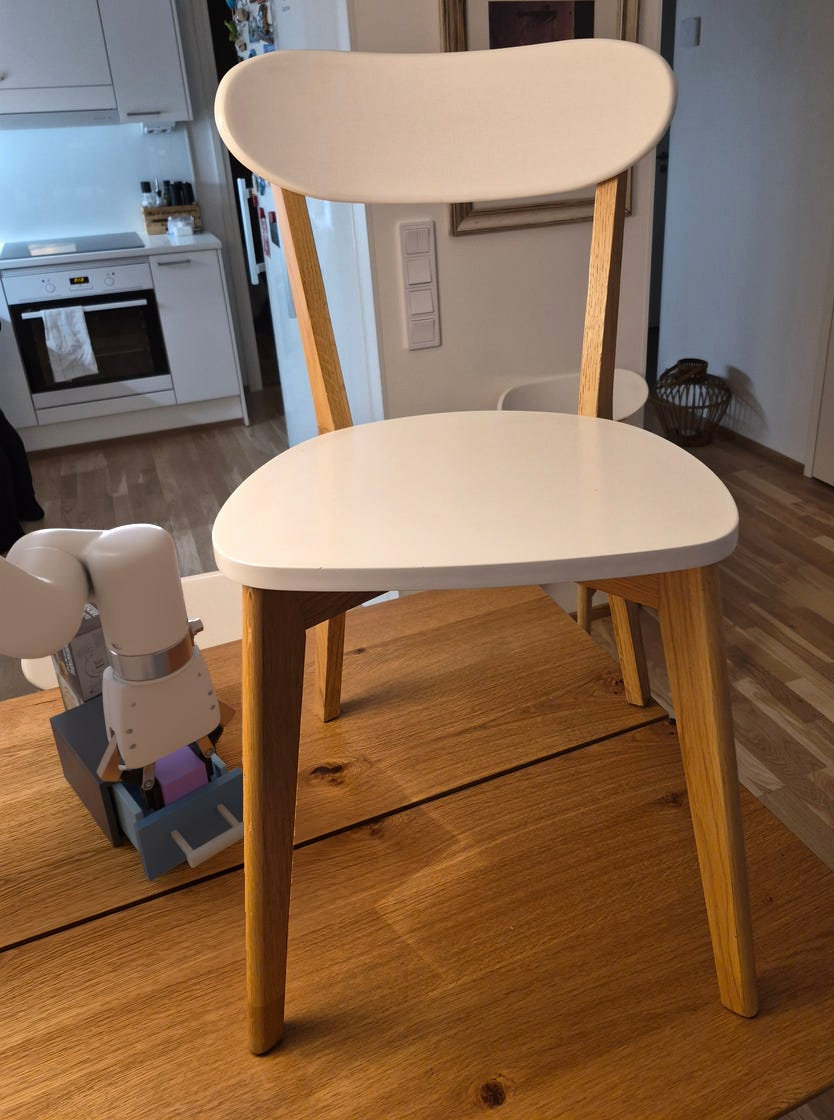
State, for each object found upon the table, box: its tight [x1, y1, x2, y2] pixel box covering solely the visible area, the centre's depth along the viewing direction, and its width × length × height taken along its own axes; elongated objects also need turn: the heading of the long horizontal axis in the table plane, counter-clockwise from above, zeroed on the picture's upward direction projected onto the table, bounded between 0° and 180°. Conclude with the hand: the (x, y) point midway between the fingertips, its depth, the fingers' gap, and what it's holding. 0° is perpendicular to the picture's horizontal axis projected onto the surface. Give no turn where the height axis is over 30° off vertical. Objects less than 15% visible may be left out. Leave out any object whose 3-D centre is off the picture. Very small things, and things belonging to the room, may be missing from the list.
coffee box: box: [50, 602, 111, 712], centre depth 106 cm, size 9×6×16 cm
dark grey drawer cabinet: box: [49, 695, 218, 848], centre depth 97 cm, size 15×13×9 cm
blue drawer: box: [108, 744, 245, 883], centre depth 90 cm, size 19×11×7 cm, turn 44°
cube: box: [155, 746, 208, 807], centre depth 88 cm, size 4×4×4 cm
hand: (180, 794), depth 89 cm, fingers closed on cube, 4 cm apart
